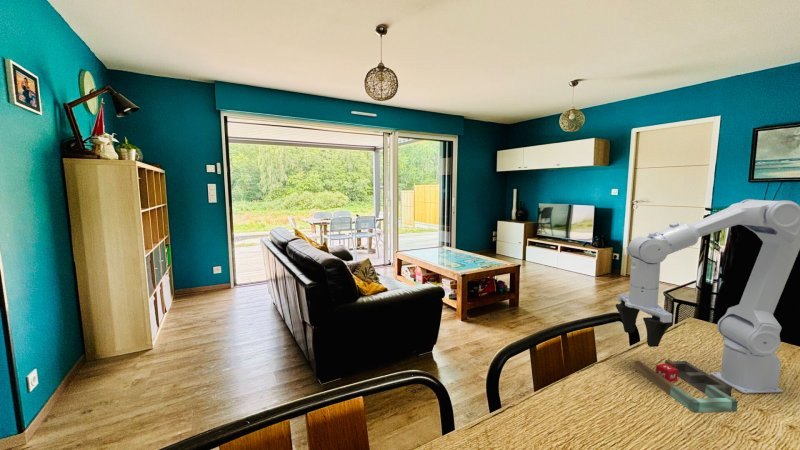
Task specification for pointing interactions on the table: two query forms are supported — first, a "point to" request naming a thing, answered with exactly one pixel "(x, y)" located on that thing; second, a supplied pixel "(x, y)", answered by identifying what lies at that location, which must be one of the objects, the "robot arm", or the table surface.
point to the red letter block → (667, 372)
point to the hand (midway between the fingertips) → (640, 338)
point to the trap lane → (699, 380)
